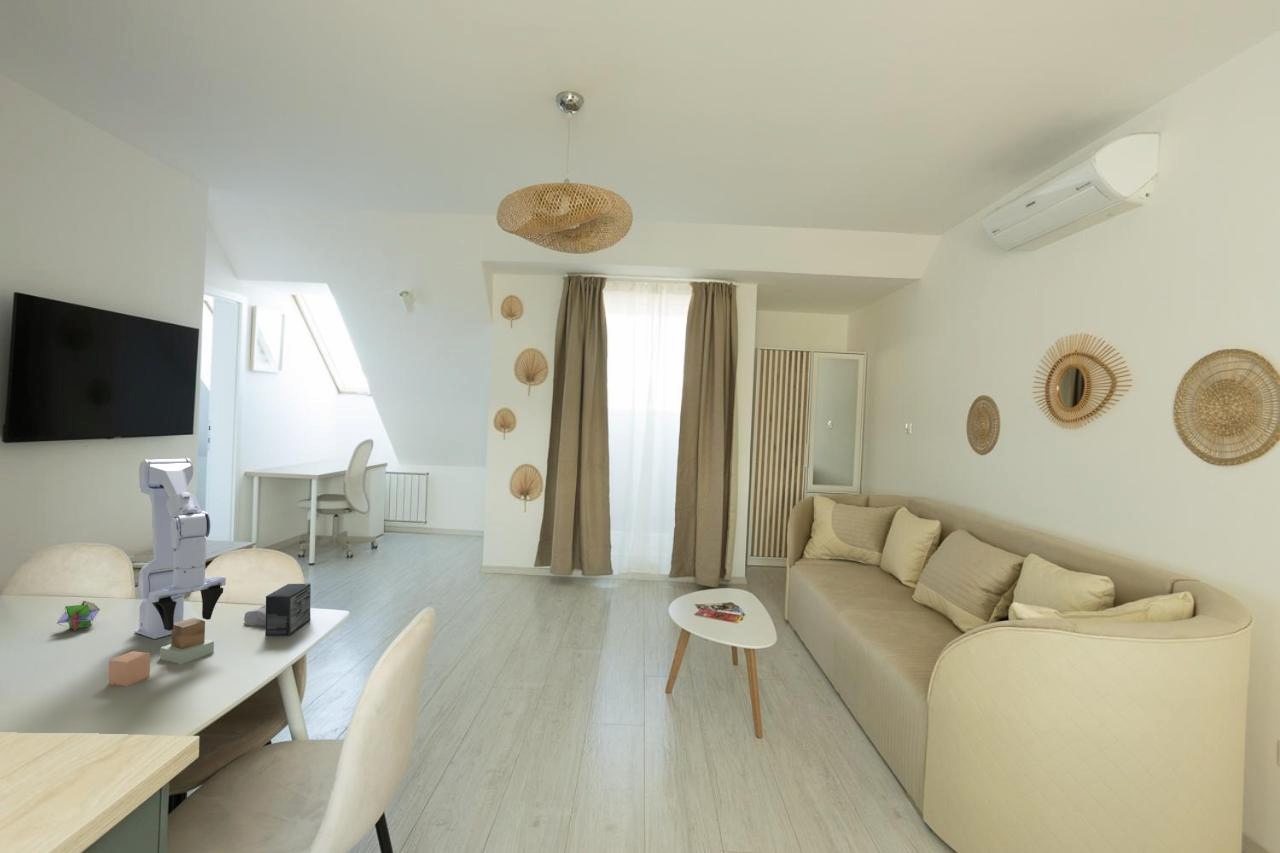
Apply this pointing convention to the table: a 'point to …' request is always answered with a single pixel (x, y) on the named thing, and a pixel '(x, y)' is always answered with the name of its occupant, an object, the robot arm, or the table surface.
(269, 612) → the small box
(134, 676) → the terracotta block
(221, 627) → the table surface
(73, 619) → the geometric puzzle
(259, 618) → the stone block
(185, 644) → the walnut block
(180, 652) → the base block
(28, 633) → the table surface
